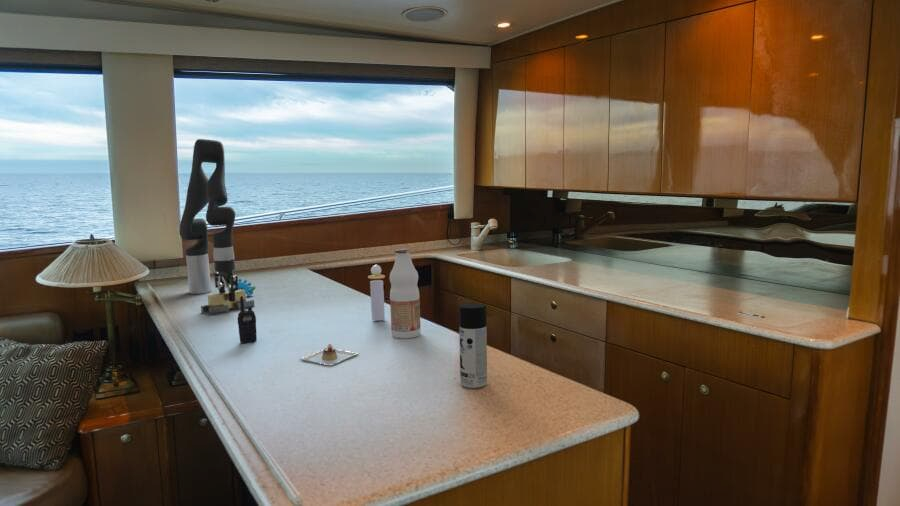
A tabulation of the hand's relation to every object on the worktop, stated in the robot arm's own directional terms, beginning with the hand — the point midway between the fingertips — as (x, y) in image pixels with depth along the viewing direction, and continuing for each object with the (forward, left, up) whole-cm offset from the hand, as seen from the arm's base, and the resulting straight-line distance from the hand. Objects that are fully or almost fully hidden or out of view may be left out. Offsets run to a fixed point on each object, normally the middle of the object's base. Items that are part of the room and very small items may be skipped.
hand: (227, 300), depth 235 cm
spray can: (+128, -5, -4) cm, 128 cm away
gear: (-17, +16, -4) cm, 24 cm away
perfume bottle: (+62, +23, -4) cm, 66 cm away
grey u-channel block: (0, 0, -4) cm, 4 cm away
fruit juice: (+83, +16, -4) cm, 85 cm away
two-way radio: (+47, -19, -4) cm, 51 cm away
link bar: (0, 0, -3) cm, 3 cm away
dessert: (+82, -14, -5) cm, 83 cm away
